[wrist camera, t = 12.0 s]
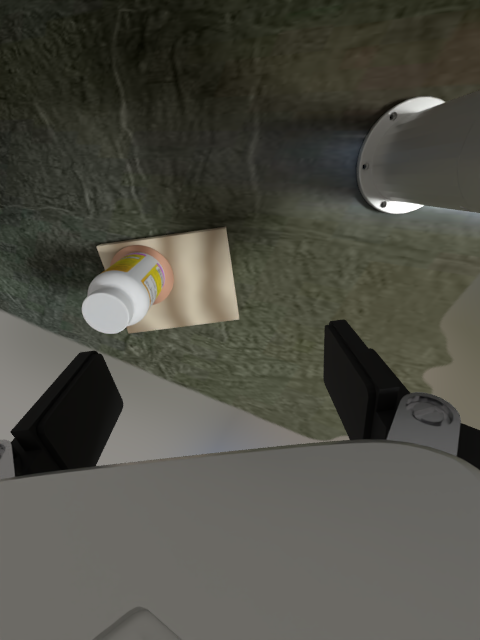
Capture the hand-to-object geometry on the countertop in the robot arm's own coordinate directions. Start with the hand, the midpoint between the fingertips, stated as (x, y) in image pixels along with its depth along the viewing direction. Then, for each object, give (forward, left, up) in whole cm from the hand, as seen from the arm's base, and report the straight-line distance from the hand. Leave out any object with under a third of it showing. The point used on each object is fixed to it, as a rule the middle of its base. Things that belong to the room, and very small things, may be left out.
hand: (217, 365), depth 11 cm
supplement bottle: (+13, +4, -28) cm, 31 cm away
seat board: (+9, +6, -30) cm, 32 cm away
